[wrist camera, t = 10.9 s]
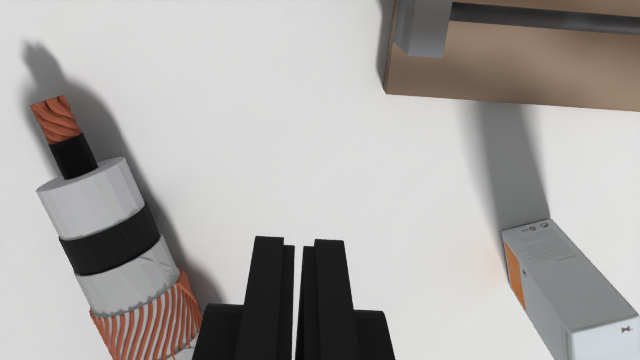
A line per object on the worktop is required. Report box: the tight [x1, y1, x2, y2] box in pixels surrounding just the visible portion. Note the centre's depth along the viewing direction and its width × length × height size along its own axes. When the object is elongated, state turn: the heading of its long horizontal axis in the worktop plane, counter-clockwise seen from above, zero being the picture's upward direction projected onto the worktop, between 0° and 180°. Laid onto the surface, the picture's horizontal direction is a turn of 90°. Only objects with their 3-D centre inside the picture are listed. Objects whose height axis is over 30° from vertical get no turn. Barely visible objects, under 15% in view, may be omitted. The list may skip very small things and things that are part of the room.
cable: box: [30, 95, 203, 360], centre depth 38 cm, size 10×34×10 cm
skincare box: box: [502, 219, 640, 360], centre depth 36 cm, size 6×4×12 cm
